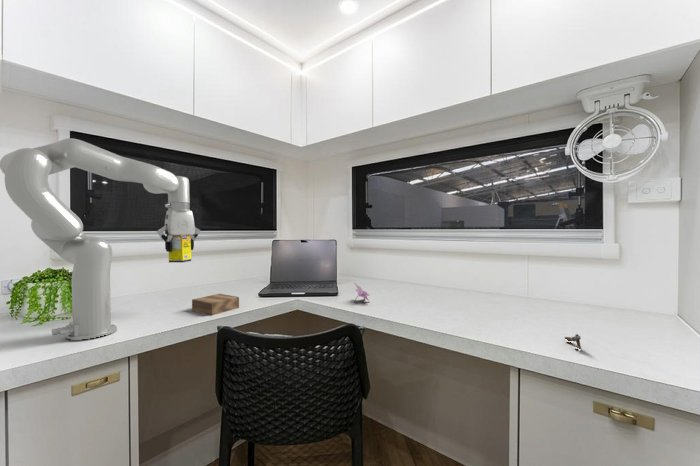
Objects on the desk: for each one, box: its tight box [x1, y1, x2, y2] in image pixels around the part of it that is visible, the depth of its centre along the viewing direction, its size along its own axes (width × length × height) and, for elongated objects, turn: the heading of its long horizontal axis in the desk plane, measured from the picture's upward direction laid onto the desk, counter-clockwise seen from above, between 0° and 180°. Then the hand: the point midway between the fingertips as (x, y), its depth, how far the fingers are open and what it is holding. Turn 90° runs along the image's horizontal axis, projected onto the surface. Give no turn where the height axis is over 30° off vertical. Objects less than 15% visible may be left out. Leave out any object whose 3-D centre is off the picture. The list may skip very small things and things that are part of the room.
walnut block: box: [191, 293, 240, 316], centre depth 130 cm, size 13×13×5 cm
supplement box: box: [168, 235, 192, 264], centre depth 124 cm, size 6×6×11 cm
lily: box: [353, 281, 371, 303], centre depth 142 cm, size 11×11×9 cm
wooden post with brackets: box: [564, 333, 582, 350], centre depth 90 cm, size 2×8×5 cm, turn 164°
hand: (180, 250), depth 125 cm, fingers closed on supplement box, 8 cm apart
